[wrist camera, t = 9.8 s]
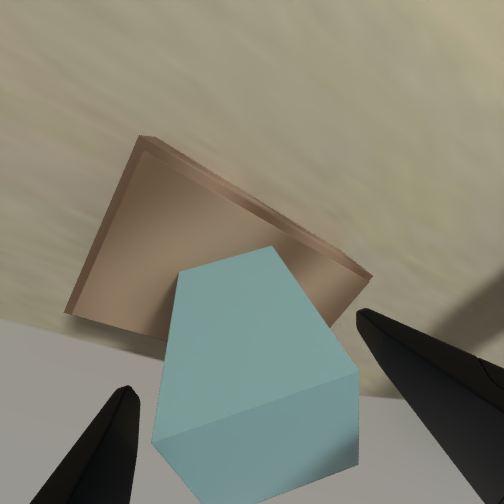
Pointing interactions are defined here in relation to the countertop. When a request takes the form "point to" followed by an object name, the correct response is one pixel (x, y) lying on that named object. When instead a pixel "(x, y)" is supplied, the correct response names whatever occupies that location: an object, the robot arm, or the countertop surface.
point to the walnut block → (192, 244)
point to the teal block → (253, 384)
